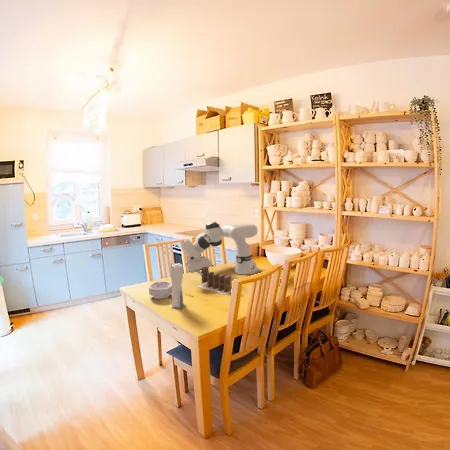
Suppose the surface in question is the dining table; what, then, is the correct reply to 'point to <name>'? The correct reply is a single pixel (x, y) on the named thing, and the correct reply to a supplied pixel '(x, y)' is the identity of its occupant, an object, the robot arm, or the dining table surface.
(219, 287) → the domino
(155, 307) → the dining table surface
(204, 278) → the domino
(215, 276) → the domino
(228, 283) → the domino
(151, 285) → the paper bowls
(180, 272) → the skyscraper
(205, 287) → the board
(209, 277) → the domino
